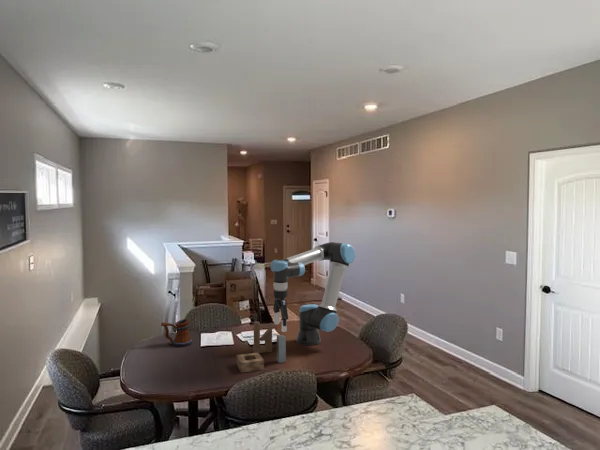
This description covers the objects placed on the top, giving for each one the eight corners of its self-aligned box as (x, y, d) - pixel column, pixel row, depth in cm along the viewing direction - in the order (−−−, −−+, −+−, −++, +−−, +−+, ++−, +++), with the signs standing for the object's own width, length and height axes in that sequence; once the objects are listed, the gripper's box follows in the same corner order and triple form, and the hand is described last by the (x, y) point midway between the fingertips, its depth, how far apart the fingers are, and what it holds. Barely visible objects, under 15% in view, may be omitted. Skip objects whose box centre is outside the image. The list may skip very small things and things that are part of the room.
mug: (161, 349, 250) (161, 324, 249) (161, 342, 261) (161, 319, 260) (192, 346, 256) (192, 321, 255) (191, 340, 267) (191, 316, 266)
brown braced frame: (272, 351, 247) (272, 321, 246) (254, 354, 244) (254, 323, 242) (270, 349, 251) (270, 319, 250) (252, 352, 247) (252, 321, 246)
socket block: (258, 361, 233) (258, 352, 233) (263, 369, 222) (263, 360, 221) (236, 364, 229) (236, 355, 228) (241, 372, 218) (241, 363, 217)
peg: (283, 359, 236) (283, 334, 235) (285, 362, 232) (285, 337, 231) (276, 360, 235) (276, 335, 234) (278, 363, 231) (278, 337, 230)
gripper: (267, 285, 241) (267, 322, 243) (280, 295, 218) (280, 335, 219) (280, 284, 244) (280, 320, 245) (294, 294, 220) (294, 334, 222)
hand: (280, 327), depth 232 cm, fingers open, 13 cm apart
